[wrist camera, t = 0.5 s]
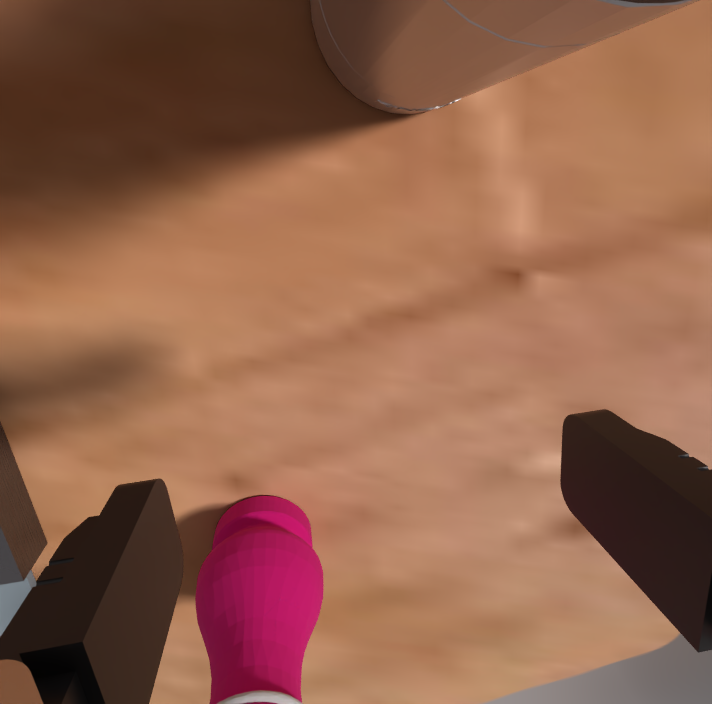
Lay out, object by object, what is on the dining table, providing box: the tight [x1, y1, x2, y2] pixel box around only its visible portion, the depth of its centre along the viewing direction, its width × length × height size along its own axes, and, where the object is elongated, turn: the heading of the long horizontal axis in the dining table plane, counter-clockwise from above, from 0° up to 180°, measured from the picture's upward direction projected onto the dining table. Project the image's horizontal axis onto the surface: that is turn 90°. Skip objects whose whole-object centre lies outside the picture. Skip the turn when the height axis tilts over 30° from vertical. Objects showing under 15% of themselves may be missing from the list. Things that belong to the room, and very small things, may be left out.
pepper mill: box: [195, 496, 323, 704], centre depth 23 cm, size 7×7×20 cm
